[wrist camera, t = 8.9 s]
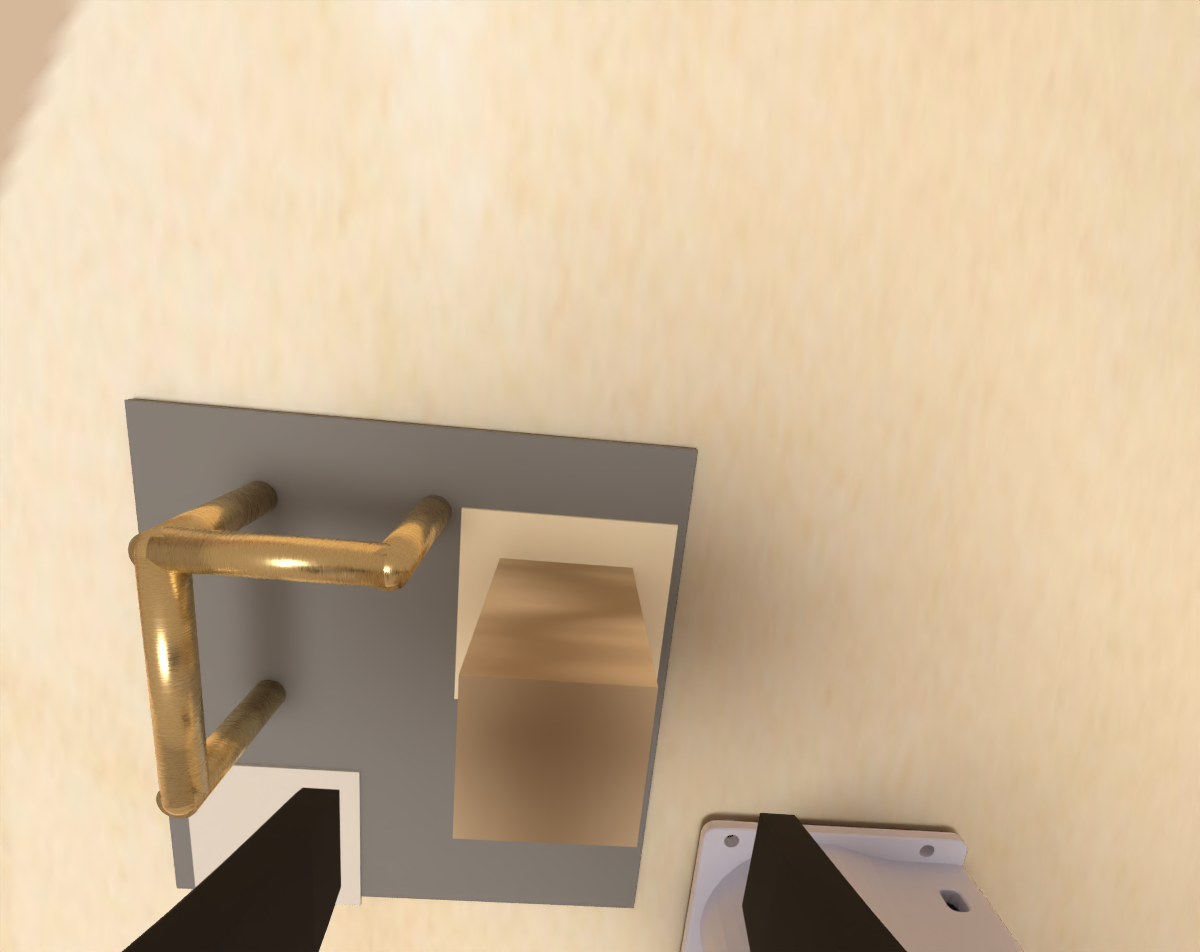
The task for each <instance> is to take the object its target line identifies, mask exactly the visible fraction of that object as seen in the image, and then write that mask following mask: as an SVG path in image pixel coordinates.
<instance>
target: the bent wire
mask: <svg viewBox="0 0 1200 952" xmlns="http://www.w3.org/2000/svg"><path fill="white" fill-rule="evenodd" d="M276 505H277V494H276V492H275V490H274V489H273V487H272V486H270V485H269V484H268V483H266V482H263V481H252V482H249V483H247V484H245V485H243V486H241V487H239V488H236V489H234V490H232V491H230V492H228V493H226V494H224V495H221V496H219V497H217V498H215V499H213V500H211V501H208V502H206V503H204V504H202V505H200V506H198V507H196V508H193V509H191V510H189V511H187V512H185V513H183V514H181V515H178V516H176V517H174V518H172V519H170V520H168V521H165V522H163V523H161V524H159V525H157V526H155V527H153V528H150V529H148V530H146V531H144V532H142V533H140V534H138V535H136V536H135V537H133V539H132V540H131V541H130V543H129V547H128V553H129V557H130V559H131V561H132V562H133V564H134V565H135V573H136V582H137V591H138V600H139V609H140V618H141V627H142V636H143V645H144V655H145V664H146V673H147V682H148V691H149V700H150V709H151V718H152V727H153V736H154V745H155V754H156V763H157V772H158V781H159V790H160V791H159V792H158V794H157V798H156V801H157V805H158V807H159V808H160V810H161V811H162V812H163V813H165V814H166V815H168V816H170V817H173V818H179V819H183V818H188V817H190V816H192V815H194V814H195V813H196V812H197V810H198V809H199V808H200V807H201V805H202V804H203V803H204V801H205V800H206V799H207V798H208V796H209V795H210V794H211V793H212V791H213V790H214V789H215V788H216V786H217V785H218V784H219V783H220V781H221V780H222V779H223V778H224V776H225V775H226V774H227V773H228V771H229V770H230V769H231V768H232V766H233V765H234V764H235V763H236V761H237V760H238V759H239V758H240V756H241V755H242V754H243V752H244V751H245V750H246V749H247V747H248V746H249V745H250V744H251V742H252V741H253V740H254V739H255V737H256V736H257V735H258V734H259V732H260V731H261V730H262V729H263V727H264V726H265V725H266V724H267V722H268V721H269V720H270V719H271V717H272V716H273V715H274V714H275V712H276V711H277V710H278V709H279V707H280V706H281V705H282V703H283V702H284V701H285V699H286V692H285V689H284V687H283V686H282V685H281V684H280V683H278V682H276V681H274V680H263V681H260V682H259V683H257V684H256V685H255V687H254V688H253V689H252V690H251V691H250V692H249V693H248V694H247V695H246V696H245V698H244V699H243V700H242V701H241V702H240V703H239V704H238V705H237V706H236V707H235V709H234V710H233V711H232V712H231V713H230V714H229V715H228V716H227V717H226V718H225V719H224V721H223V722H222V723H221V724H220V725H219V726H218V727H217V728H216V729H215V730H214V732H213V733H212V734H211V735H210V736H209V737H208V738H207V739H206V732H205V720H204V708H203V696H202V684H201V673H200V661H199V649H198V637H197V625H196V614H195V602H194V590H193V578H192V574H200V575H214V576H228V577H241V578H255V579H269V580H283V581H296V582H310V583H324V584H338V585H352V586H365V587H374V588H376V589H378V590H380V591H384V592H393V591H396V590H399V589H401V588H402V587H403V586H404V585H405V584H406V583H407V581H408V580H409V578H410V577H411V576H412V574H413V573H414V571H415V570H416V568H417V567H418V565H419V564H420V562H421V561H422V560H423V558H424V557H425V555H426V554H427V552H428V551H429V549H430V548H431V546H432V545H433V543H434V542H435V541H436V539H437V538H438V536H439V535H440V533H441V532H442V530H443V529H444V527H445V526H446V525H447V523H448V522H449V520H450V518H451V515H452V510H451V506H450V504H449V503H448V501H447V500H446V499H444V498H443V497H441V496H438V495H429V496H426V497H425V498H423V499H422V500H421V501H420V502H419V503H418V504H417V505H416V506H415V507H414V509H413V510H412V511H411V512H410V513H409V514H408V515H407V516H406V517H405V518H404V519H403V520H402V521H401V523H400V524H399V525H398V526H397V527H396V528H395V529H394V530H393V531H392V532H391V533H390V534H389V535H388V536H387V538H386V539H385V540H384V541H383V542H382V543H380V542H367V541H354V540H341V539H328V538H315V537H302V536H289V535H276V534H263V533H250V532H237V531H239V530H240V529H242V528H244V527H245V526H247V525H249V524H250V523H252V522H254V521H255V520H257V519H259V518H261V517H262V516H264V515H266V514H267V513H269V512H271V511H272V510H273V509H274V508H275V507H276Z"/></svg>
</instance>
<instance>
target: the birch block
mask: <svg viewBox="0 0 1200 952" xmlns="http://www.w3.org/2000/svg"><path fill="white" fill-rule="evenodd" d="M657 693H658V684H657V679H656V675H655V670H654V665H653V661H652V656H651V651H650V647H649V642H648V638H647V633H646V628H645V624H644V619H643V614H642V610H641V605H640V600H639V596H638V591H637V586H636V582H635V577H634V573H633V568H628V567H614V566H601V565H587V564H574V563H560V562H546V561H533V560H519V559H506V558H500V559H499V562H498V565H497V568H496V571H495V573H494V576H493V579H492V582H491V585H490V588H489V590H488V593H487V596H486V599H485V602H484V605H483V607H482V610H481V613H480V616H479V619H478V622H477V624H476V627H475V630H474V633H473V636H472V639H471V641H470V644H469V647H468V650H467V653H466V656H465V658H464V661H463V664H462V667H461V670H460V673H459V679H458V706H457V734H456V761H455V788H454V815H453V839H472V840H494V841H515V842H536V843H557V844H578V845H600V846H621V847H637V843H638V835H639V828H640V820H641V813H642V805H643V798H644V790H645V783H646V775H647V768H648V760H649V753H650V745H651V738H652V730H653V723H654V715H655V708H656V701H657Z"/></svg>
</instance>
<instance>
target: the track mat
mask: <svg viewBox="0 0 1200 952" xmlns="http://www.w3.org/2000/svg"><path fill="white" fill-rule="evenodd" d="M125 409H126V418H127V428H128V437H129V446H130V456H131V465H132V474H133V484H134V493H135V502H136V512H137V521H138V530H139V534H140V533H142V532H144V531H146V530H148V529H150V528H153V527H155V526H157V525H159V524H161V523H163V522H165V521H168V520H170V519H172V518H174V517H176V516H178V515H181V514H183V513H185V512H187V511H189V510H191V509H193V508H196V507H198V506H200V505H202V504H204V503H206V502H208V501H211V500H213V499H215V498H217V497H219V496H221V495H224V494H226V493H228V492H230V491H232V490H234V489H236V488H239V487H241V486H243V485H245V484H247V483H249V482H252V481H263V482H266V483H268V484H269V485H270V486H272V487H273V489H274V490H275V492H276V494H277V505H276V507H275V508H274V509H273V510H272V511H271V512H269V513H267V514H266V515H264V516H262V517H261V518H259V519H257V520H255V521H254V522H252V523H250V524H249V525H247V526H245V527H244V528H242V529H240V530H239V531H237V532H250V533H263V534H276V535H289V536H302V537H315V538H328V539H341V540H354V541H367V542H380V543H382V542H383V541H384V540H385V539H386V538H387V536H388V535H389V534H390V533H391V532H392V531H393V530H394V529H395V528H396V527H397V526H398V525H399V524H400V523H401V521H402V520H403V519H404V518H405V517H406V516H407V515H408V514H409V513H410V512H411V511H412V510H413V509H414V507H415V506H416V505H417V504H418V503H419V502H420V501H421V500H422V499H423V498H425V497H426V496H429V495H438V496H441V497H443V498H444V499H446V500H447V501H448V503H449V504H450V506H451V510H452V515H451V518H450V520H449V522H448V523H447V525H446V526H445V527H444V529H443V530H442V532H441V533H440V535H439V536H438V538H437V539H436V541H435V542H434V543H433V545H432V546H431V548H430V549H429V551H428V552H427V554H426V555H425V557H424V558H423V560H422V561H421V562H420V564H419V565H418V567H417V568H416V570H415V571H414V573H413V574H412V576H411V577H410V578H409V580H408V581H407V583H406V584H405V585H404V586H403V587H402V588H401V589H399V590H396V591H393V592H384V591H380V590H378V589H376V588H374V587H365V586H352V585H338V584H324V583H310V582H296V581H283V580H269V579H255V578H241V577H228V576H214V575H200V574H192V578H193V590H194V602H195V614H196V625H197V637H198V649H199V661H200V673H201V684H202V696H203V708H204V720H205V732H206V739H207V738H208V737H209V736H210V735H211V734H212V733H213V732H214V730H215V729H216V728H217V727H218V726H219V725H220V724H221V723H222V722H223V721H224V719H225V718H226V717H227V716H228V715H229V714H230V713H231V712H232V711H233V710H234V709H235V707H236V706H237V705H238V704H239V703H240V702H241V701H242V700H243V699H244V698H245V696H246V695H247V694H248V693H249V692H250V691H251V690H252V689H253V688H254V687H255V685H256V684H257V683H259V682H260V681H263V680H274V681H276V682H278V683H280V684H281V685H282V686H283V687H284V689H285V692H286V699H285V701H284V702H283V703H282V705H281V706H280V707H279V709H278V710H277V711H276V712H275V714H274V715H273V716H272V717H271V719H270V720H269V721H268V722H267V724H266V725H265V726H264V727H263V729H262V730H261V731H260V732H259V734H258V735H257V736H256V737H255V739H254V740H253V741H252V742H251V744H250V745H249V746H248V747H247V749H246V750H245V751H244V752H243V754H242V755H241V756H240V758H239V759H238V760H237V761H236V763H235V764H234V765H233V766H232V768H231V769H230V770H229V771H228V773H227V774H226V775H225V776H224V778H223V779H222V780H221V781H220V783H219V784H218V785H217V786H216V788H215V789H214V790H213V791H212V793H211V794H210V795H209V796H208V798H207V799H206V800H205V801H204V803H203V804H202V805H201V807H200V808H199V809H198V810H197V812H196V813H195V814H194V815H192V816H190V817H188V818H183V819H179V818H173V817H170V816H169V820H170V829H171V838H172V848H173V857H174V866H175V876H176V885H177V888H184V889H194V888H195V887H196V886H198V885H199V884H200V883H201V882H202V881H203V880H204V879H205V878H206V877H207V876H208V875H210V874H211V873H212V872H213V871H214V870H215V869H216V868H217V867H218V866H219V865H221V864H222V863H223V862H224V861H225V860H226V859H227V858H228V857H229V856H230V855H231V854H232V853H233V852H234V851H235V850H237V849H238V848H239V847H240V846H241V845H242V844H243V843H244V842H245V841H246V840H247V839H248V838H249V837H250V836H251V835H252V834H253V833H255V832H256V831H257V830H258V829H259V828H260V827H261V826H262V825H263V824H264V823H265V822H266V821H267V820H268V819H269V818H270V817H271V816H272V815H273V814H274V813H275V812H276V811H277V810H278V809H280V808H281V807H282V806H283V805H284V804H285V803H286V802H287V801H288V800H289V799H290V798H291V797H292V796H293V795H294V794H295V793H296V792H298V791H299V790H300V789H301V788H319V789H337V790H340V849H341V889H340V892H339V895H338V898H337V900H336V903H335V905H357V906H360V905H361V896H367V897H390V898H413V899H436V900H459V901H482V902H505V903H528V904H551V905H574V906H596V907H619V908H634V903H635V896H636V889H637V881H638V874H639V867H640V860H641V853H642V846H643V839H644V831H645V824H646V817H647V810H648V803H649V796H650V789H651V781H652V774H653V767H654V760H655V753H656V746H657V739H658V732H659V724H660V717H661V710H662V703H663V696H664V689H665V682H666V674H667V667H668V660H669V653H670V646H671V639H672V632H673V624H674V617H675V610H676V603H677V596H678V589H679V582H680V575H681V567H682V560H683V553H684V546H685V539H686V532H687V525H688V517H689V510H690V503H691V496H692V489H693V482H694V475H695V467H696V460H697V453H698V450H697V449H696V448H686V447H675V446H664V445H652V444H641V443H630V442H618V441H607V440H596V439H584V438H573V437H561V436H550V435H539V434H527V433H516V432H505V431H493V430H482V429H471V428H459V427H448V426H437V425H425V424H414V423H403V422H391V421H380V420H369V419H357V418H346V417H335V416H323V415H312V414H301V413H289V412H278V411H267V410H255V409H244V408H233V407H221V406H210V405H199V404H187V403H176V402H164V401H153V400H142V399H128V400H125ZM500 558H506V559H519V560H533V561H546V562H560V563H574V564H587V565H601V566H614V567H628V568H633V573H634V577H635V582H636V586H637V591H638V596H639V600H640V605H641V610H642V614H643V619H644V624H645V628H646V633H647V638H648V642H649V647H650V651H651V656H652V661H653V665H654V670H655V675H656V679H657V684H658V693H657V701H656V708H655V715H654V723H653V730H652V738H651V745H650V753H649V760H648V768H647V775H646V783H645V790H644V798H643V805H642V813H641V820H640V828H639V835H638V843H637V847H621V846H600V845H578V844H557V843H536V842H515V841H494V840H472V839H453V815H454V788H455V761H456V734H457V706H458V679H459V673H460V670H461V667H462V664H463V661H464V658H465V656H466V653H467V650H468V647H469V644H470V641H471V639H472V636H473V633H474V630H475V627H476V624H477V622H478V619H479V616H480V613H481V610H482V607H483V605H484V602H485V599H486V596H487V593H488V590H489V588H490V585H491V582H492V579H493V576H494V573H495V571H496V568H497V565H498V562H499V559H500Z"/></svg>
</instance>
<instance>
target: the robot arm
mask: <svg viewBox="0 0 1200 952" xmlns="http://www.w3.org/2000/svg"><path fill="white" fill-rule="evenodd" d="M729 835H734V836H732V837H728V838H727V836H729ZM966 854H967V845H966V843H965V842H964V841H963V839H962V838H961V837H960V836H959V835H958V834H956V833H952V832H933V831H914V830H895V829H876V828H857V827H838V826H818V825H802V824H801V823H800V821H799V820H798V819H797V818H796V816H795V815H786V814H768V813H760V816H759V821H758V822H742V821H723V820H714V821H710V822H708V823H706V824H705V825H704V826H703V828H702V830H701V835H700V841H699V847H698V853H697V859H696V865H695V871H694V876H693V882H692V888H691V894H690V900H689V906H688V912H687V918H686V924H685V929H684V935H683V941H682V947H681V952H1024V951H1023V950H1022V949H1021V947H1020V946H1019V944H1018V943H1017V942H1016V940H1015V939H1014V937H1013V936H1012V934H1011V933H1010V932H1009V930H1008V929H1007V927H1006V926H1005V925H1004V923H1003V922H1002V920H1001V919H1000V918H999V916H998V915H997V913H996V912H995V911H994V909H993V908H992V906H991V905H990V904H989V902H988V901H987V899H986V898H985V896H984V895H983V894H982V892H981V891H980V889H979V888H978V887H977V885H976V884H975V882H974V881H973V880H972V878H971V877H970V875H969V874H968V873H967V871H966V870H965V868H964V867H963V863H964V860H965V857H966ZM340 889H341V849H340V790H337V789H319V788H301V789H300V790H299V791H298V792H296V793H295V794H294V795H293V796H292V797H291V798H290V799H289V800H288V801H287V802H286V803H285V804H284V805H283V806H282V807H281V808H280V809H278V810H277V811H276V812H275V813H274V814H273V815H272V816H271V817H270V818H269V819H268V820H267V821H266V822H265V823H264V824H263V825H262V826H261V827H260V828H259V829H258V830H257V831H256V832H255V833H253V834H252V835H251V836H250V837H249V838H248V839H247V840H246V841H245V842H244V843H243V844H242V845H241V846H240V847H239V848H238V849H237V850H235V851H234V852H233V853H232V854H231V855H230V856H229V857H228V858H227V859H226V860H225V861H224V862H223V863H222V864H221V865H219V866H218V867H217V868H216V869H215V870H214V871H213V872H212V873H211V874H210V875H208V876H207V877H206V878H205V879H204V880H203V881H202V882H201V883H200V884H199V885H198V886H196V887H195V888H194V889H193V890H192V891H191V892H190V893H189V894H188V895H187V896H185V897H184V898H183V899H182V900H181V901H180V902H179V903H178V904H177V905H176V906H174V907H173V908H172V909H171V910H170V911H169V912H168V913H166V914H165V915H164V916H163V917H162V918H161V919H160V920H158V921H157V922H156V923H155V924H154V925H153V926H151V927H150V928H149V929H148V930H147V931H146V932H144V933H143V934H142V935H141V936H140V937H139V938H137V939H136V940H135V941H134V942H133V943H131V944H130V945H129V946H128V947H127V948H126V949H124V950H123V951H122V952H319V949H320V946H321V944H322V941H323V938H324V935H325V932H326V930H327V927H328V924H329V921H330V918H331V915H332V912H333V909H334V906H335V903H336V900H337V898H338V895H339V892H340Z"/></svg>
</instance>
